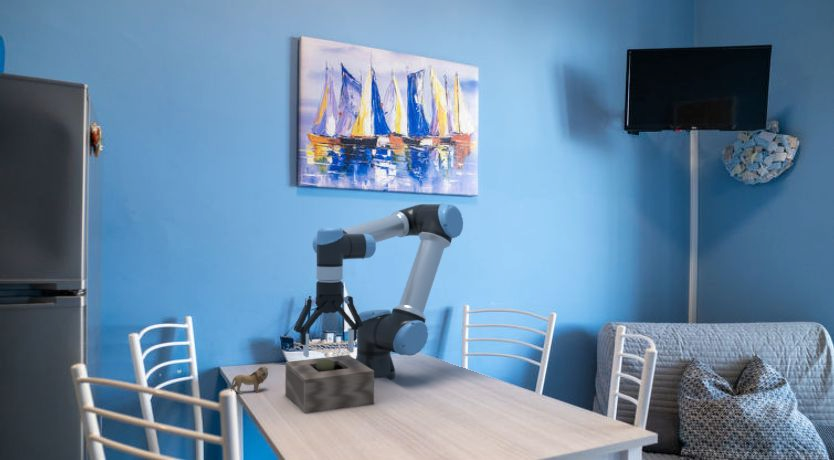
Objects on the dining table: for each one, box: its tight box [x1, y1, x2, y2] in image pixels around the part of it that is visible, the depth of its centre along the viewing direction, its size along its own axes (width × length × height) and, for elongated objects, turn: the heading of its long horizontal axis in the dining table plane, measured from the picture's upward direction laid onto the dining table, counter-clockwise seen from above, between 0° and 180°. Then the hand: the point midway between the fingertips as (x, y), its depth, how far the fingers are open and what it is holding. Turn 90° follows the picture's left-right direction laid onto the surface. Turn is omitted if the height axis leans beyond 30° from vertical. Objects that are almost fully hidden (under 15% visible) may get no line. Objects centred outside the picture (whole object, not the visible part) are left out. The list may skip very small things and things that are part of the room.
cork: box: [316, 359, 334, 372], centre depth 159 cm, size 6×6×11 cm
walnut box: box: [284, 354, 375, 414], centre depth 159 cm, size 20×20×10 cm
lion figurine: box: [230, 366, 269, 395], centre depth 166 cm, size 12×4×7 cm, turn 116°
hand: (328, 353), depth 159 cm, fingers open, 13 cm apart
